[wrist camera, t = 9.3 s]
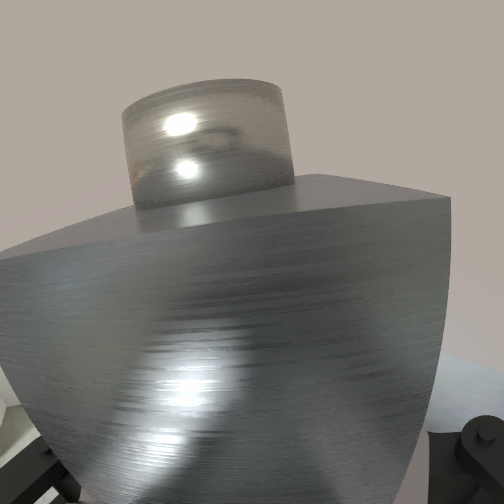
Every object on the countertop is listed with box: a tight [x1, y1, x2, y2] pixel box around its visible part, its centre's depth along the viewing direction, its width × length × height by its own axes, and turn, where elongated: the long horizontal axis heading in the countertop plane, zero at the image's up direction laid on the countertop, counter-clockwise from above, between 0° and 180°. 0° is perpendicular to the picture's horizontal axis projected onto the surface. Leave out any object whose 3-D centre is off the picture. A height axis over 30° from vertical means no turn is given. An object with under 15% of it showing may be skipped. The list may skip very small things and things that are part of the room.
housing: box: [0, 79, 451, 504], centre depth 7 cm, size 5×8×16 cm, turn 176°
